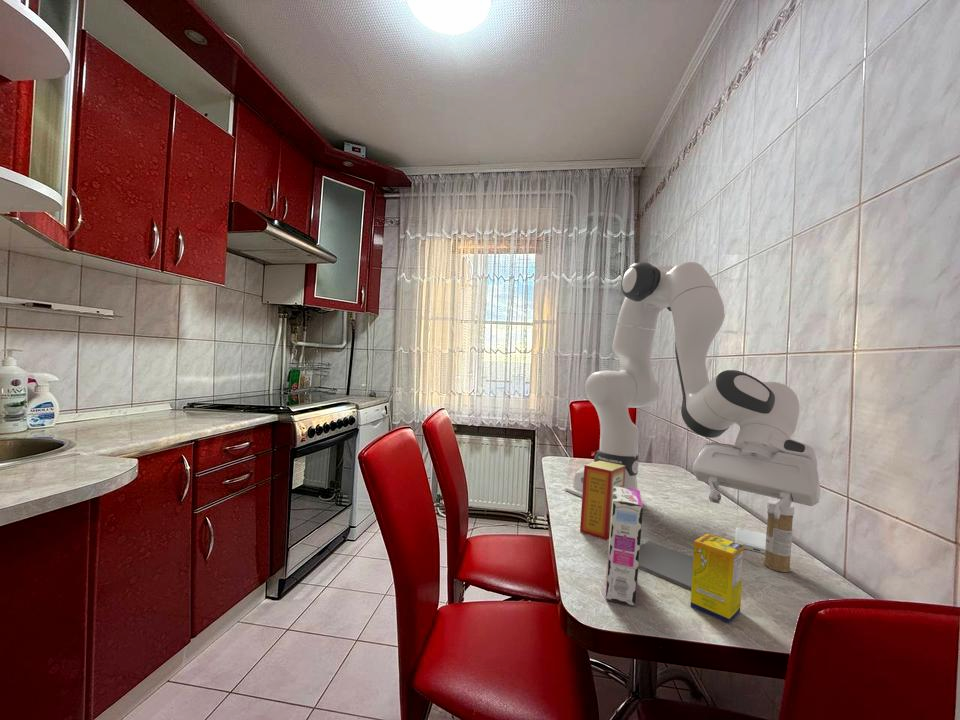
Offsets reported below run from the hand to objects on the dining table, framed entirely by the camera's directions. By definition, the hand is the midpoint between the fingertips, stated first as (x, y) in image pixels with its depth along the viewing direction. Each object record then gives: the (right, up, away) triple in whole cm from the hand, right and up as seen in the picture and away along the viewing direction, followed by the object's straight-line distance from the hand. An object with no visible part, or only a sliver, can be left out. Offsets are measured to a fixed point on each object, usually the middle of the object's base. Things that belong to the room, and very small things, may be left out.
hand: (741, 508), depth 76 cm
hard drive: (+18, -18, +24) cm, 35 cm away
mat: (-9, -14, +9) cm, 19 cm away
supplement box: (-9, -14, -7) cm, 18 cm away
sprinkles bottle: (+14, -16, +11) cm, 24 cm away
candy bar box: (-23, -13, -2) cm, 27 cm away
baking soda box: (-18, -14, +25) cm, 34 cm away
